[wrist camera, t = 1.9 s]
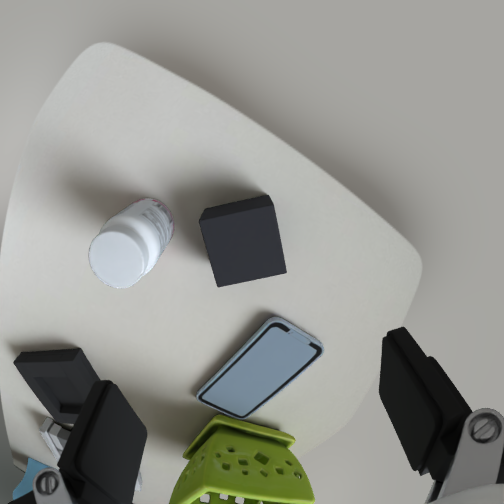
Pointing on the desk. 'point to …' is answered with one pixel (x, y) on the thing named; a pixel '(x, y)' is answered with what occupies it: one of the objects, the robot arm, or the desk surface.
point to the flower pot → (242, 466)
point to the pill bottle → (131, 243)
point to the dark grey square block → (243, 241)
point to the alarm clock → (64, 442)
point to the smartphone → (261, 369)
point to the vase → (28, 478)
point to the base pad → (58, 380)
